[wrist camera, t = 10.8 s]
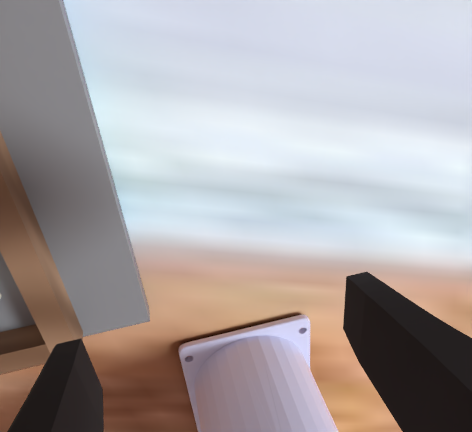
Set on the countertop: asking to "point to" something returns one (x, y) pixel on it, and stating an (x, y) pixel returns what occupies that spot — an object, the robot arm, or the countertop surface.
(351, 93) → the countertop surface
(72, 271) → the jig board
